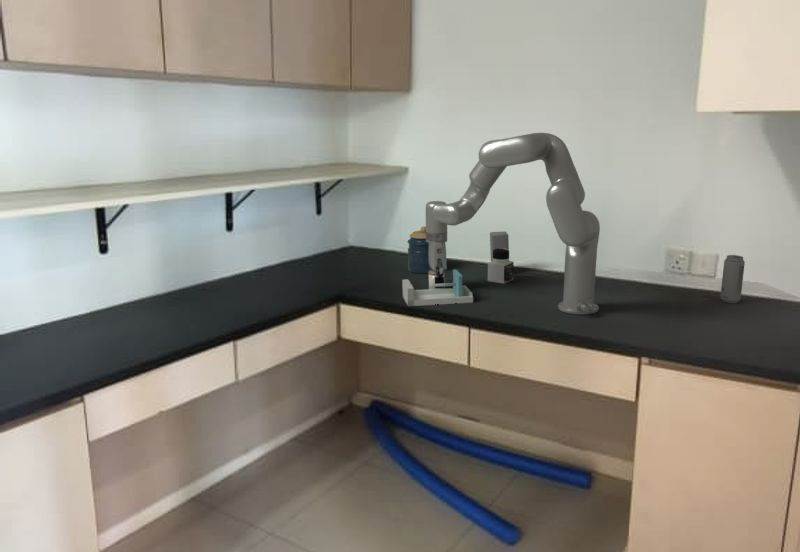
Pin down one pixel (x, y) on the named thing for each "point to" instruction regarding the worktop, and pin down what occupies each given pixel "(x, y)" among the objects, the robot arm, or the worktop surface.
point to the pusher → (454, 284)
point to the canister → (418, 252)
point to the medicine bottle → (500, 267)
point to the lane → (433, 295)
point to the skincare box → (498, 241)
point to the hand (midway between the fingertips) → (436, 284)
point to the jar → (433, 279)
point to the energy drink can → (732, 279)
